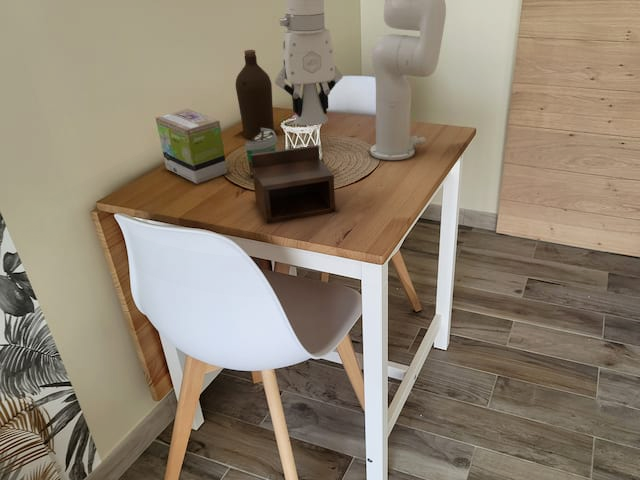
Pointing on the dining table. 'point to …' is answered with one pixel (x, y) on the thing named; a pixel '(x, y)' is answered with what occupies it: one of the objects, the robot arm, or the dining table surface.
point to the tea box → (192, 145)
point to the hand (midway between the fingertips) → (311, 113)
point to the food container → (261, 144)
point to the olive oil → (254, 97)
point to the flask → (311, 107)
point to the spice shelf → (292, 184)
